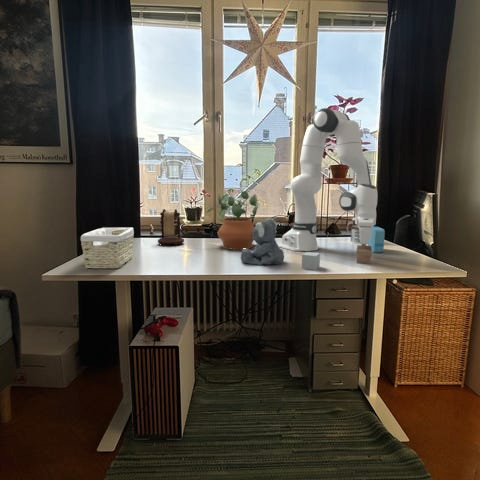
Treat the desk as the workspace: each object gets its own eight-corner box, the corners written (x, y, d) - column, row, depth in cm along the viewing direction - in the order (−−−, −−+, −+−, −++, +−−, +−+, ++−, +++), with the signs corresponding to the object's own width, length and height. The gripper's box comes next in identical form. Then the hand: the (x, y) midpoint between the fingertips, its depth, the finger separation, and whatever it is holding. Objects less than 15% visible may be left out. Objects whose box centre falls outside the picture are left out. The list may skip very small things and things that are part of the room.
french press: (369, 244, 199) (372, 200, 195) (348, 244, 199) (351, 200, 195) (363, 241, 209) (366, 199, 204) (343, 241, 209) (346, 199, 205)
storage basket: (102, 257, 167) (100, 226, 165) (136, 257, 168) (135, 226, 165) (81, 270, 144) (78, 235, 141) (121, 270, 144) (118, 235, 141)
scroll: (154, 246, 193) (152, 210, 190) (162, 241, 208) (161, 207, 204) (180, 247, 191) (178, 210, 188) (187, 242, 206) (186, 208, 202)
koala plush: (256, 256, 170) (256, 215, 167) (290, 260, 161) (292, 218, 158) (238, 263, 156) (238, 219, 152) (274, 268, 147) (275, 222, 143)
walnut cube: (356, 256, 162) (357, 245, 159) (370, 257, 160) (371, 245, 158) (356, 262, 157) (357, 250, 154) (370, 263, 155) (371, 251, 153)
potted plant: (256, 251, 180) (257, 192, 175) (203, 250, 183) (201, 192, 177) (258, 243, 202) (259, 190, 197) (210, 242, 205) (210, 190, 200)
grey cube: (301, 268, 147) (302, 254, 146) (305, 265, 153) (306, 251, 152) (315, 270, 145) (316, 256, 144) (319, 266, 150) (320, 253, 149)
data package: (383, 253, 176) (385, 229, 174) (374, 253, 177) (375, 229, 175) (375, 248, 188) (377, 226, 186) (367, 248, 188) (368, 226, 186)
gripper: (357, 217, 169) (355, 245, 172) (358, 222, 150) (356, 254, 153) (371, 217, 167) (369, 246, 170) (374, 223, 148) (371, 255, 151)
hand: (363, 250), depth 161 cm, fingers closed
